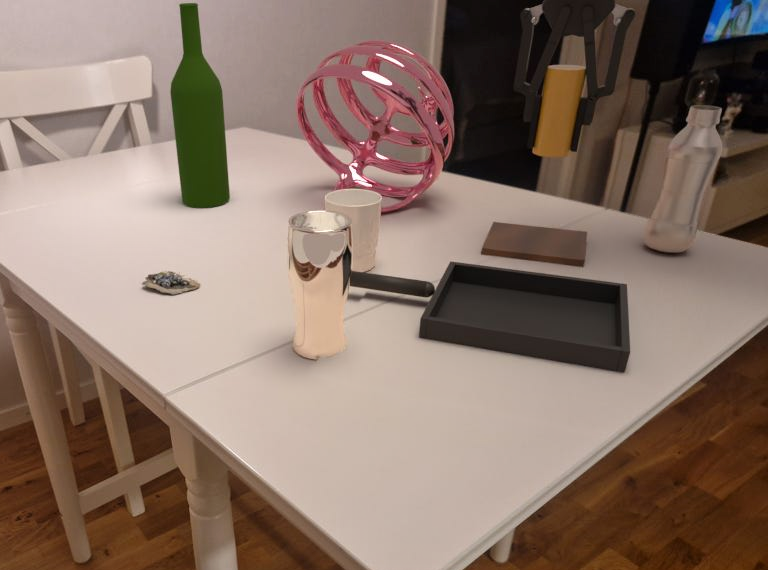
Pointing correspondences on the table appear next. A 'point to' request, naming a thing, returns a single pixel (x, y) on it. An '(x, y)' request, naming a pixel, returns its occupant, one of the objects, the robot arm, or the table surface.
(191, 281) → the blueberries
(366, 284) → the pan handle
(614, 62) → the robot arm
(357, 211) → the white cup
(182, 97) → the wine bottle
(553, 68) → the canister
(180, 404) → the table surface
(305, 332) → the beer glass
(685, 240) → the plastic bottle
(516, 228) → the board
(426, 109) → the spiral basket
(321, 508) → the table surface
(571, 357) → the pan
